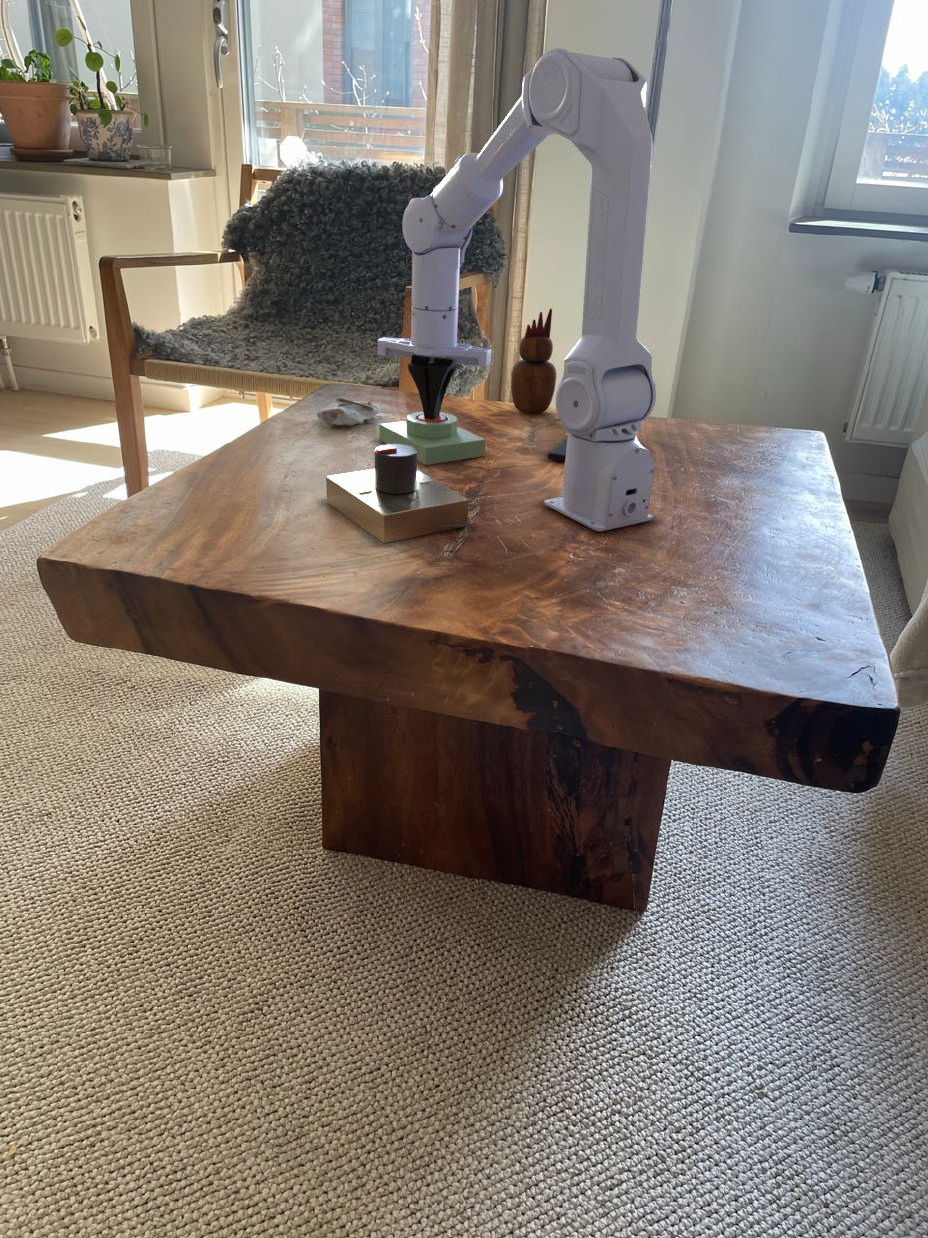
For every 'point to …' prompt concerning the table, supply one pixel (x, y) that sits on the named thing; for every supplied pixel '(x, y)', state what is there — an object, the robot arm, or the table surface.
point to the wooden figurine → (534, 369)
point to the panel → (397, 506)
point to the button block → (433, 439)
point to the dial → (395, 468)
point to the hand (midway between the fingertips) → (431, 417)
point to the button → (438, 419)
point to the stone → (347, 412)
